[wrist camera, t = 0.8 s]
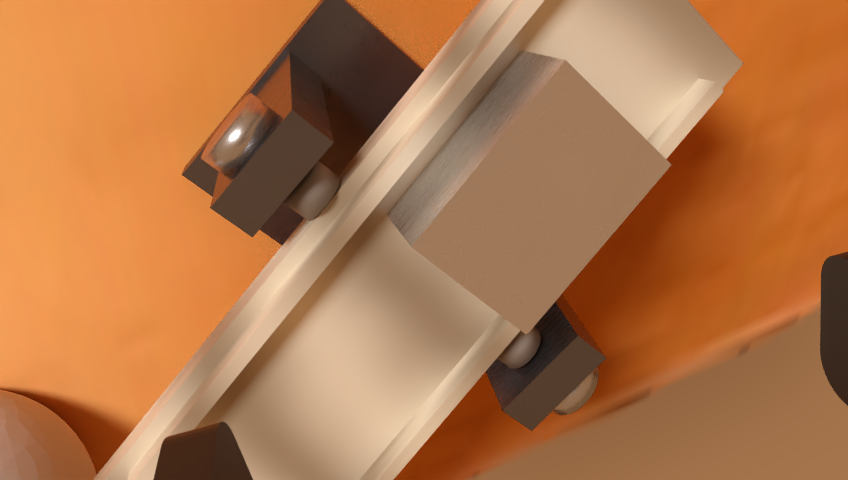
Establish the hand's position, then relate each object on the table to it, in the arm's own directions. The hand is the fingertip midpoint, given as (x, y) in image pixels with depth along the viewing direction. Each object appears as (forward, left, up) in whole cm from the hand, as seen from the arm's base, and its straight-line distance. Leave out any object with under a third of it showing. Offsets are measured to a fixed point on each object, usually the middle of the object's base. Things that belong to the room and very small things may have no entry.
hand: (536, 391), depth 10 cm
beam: (+4, +5, -16) cm, 18 cm away
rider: (-1, +5, -16) cm, 17 cm away
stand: (+4, +5, -25) cm, 26 cm away
